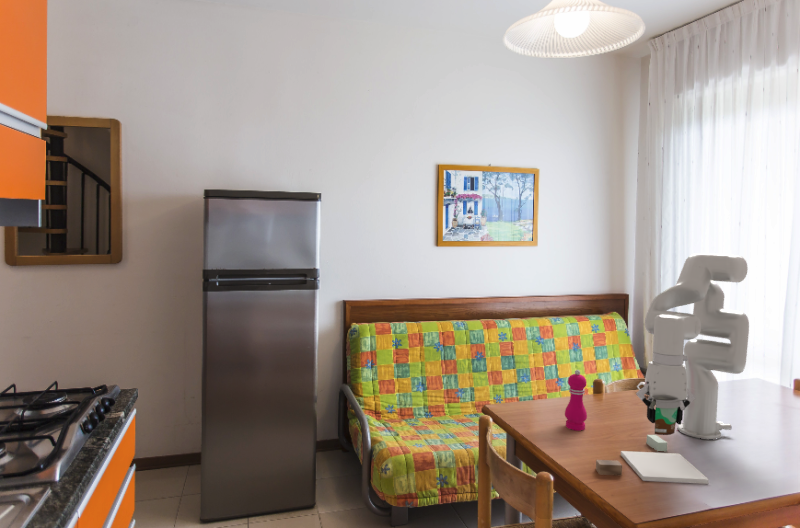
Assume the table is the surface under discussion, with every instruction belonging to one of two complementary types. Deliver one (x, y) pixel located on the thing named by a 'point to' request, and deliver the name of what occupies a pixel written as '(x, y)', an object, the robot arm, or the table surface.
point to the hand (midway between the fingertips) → (664, 421)
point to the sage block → (656, 443)
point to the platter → (663, 467)
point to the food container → (666, 416)
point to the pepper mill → (576, 403)
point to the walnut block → (608, 467)
